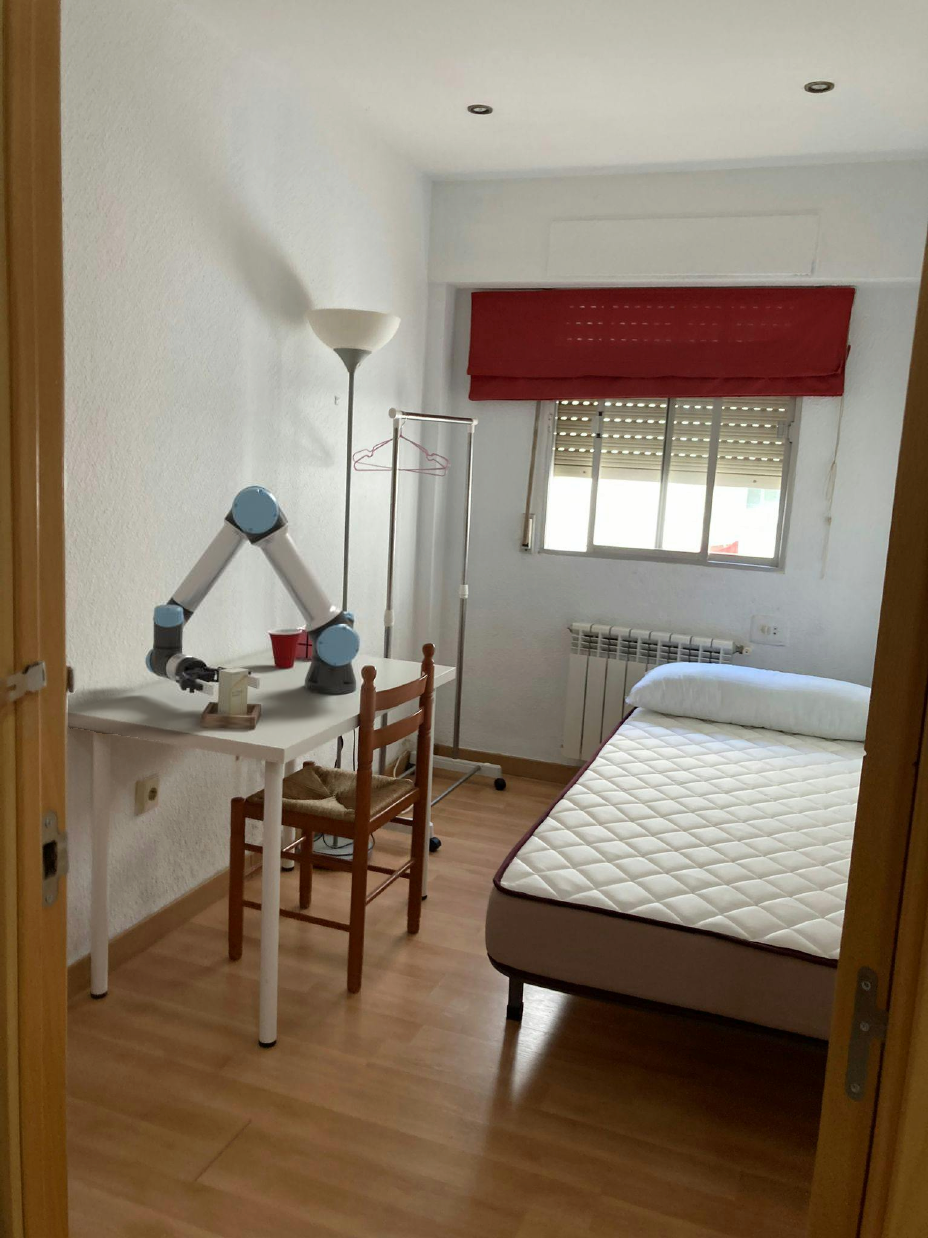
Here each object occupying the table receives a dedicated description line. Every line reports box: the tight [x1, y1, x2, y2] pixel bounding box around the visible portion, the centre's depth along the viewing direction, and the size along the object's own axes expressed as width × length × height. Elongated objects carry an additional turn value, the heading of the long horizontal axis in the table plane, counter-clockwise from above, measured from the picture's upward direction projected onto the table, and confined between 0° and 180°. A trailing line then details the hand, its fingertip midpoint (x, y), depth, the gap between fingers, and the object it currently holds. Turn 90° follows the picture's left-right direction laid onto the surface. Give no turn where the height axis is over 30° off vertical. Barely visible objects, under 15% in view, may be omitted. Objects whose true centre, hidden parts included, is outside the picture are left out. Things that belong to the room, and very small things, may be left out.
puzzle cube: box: [294, 624, 312, 660], centre depth 321 cm, size 10×10×10 cm
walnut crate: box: [199, 701, 262, 730], centre depth 237 cm, size 13×13×3 cm
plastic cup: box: [267, 628, 302, 669], centre depth 303 cm, size 11×11×12 cm
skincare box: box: [217, 666, 249, 716], centre depth 236 cm, size 6×4×12 cm
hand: (235, 686), depth 234 cm, fingers open, 13 cm apart
